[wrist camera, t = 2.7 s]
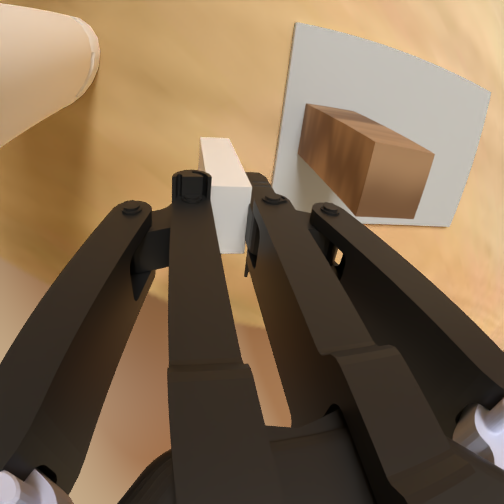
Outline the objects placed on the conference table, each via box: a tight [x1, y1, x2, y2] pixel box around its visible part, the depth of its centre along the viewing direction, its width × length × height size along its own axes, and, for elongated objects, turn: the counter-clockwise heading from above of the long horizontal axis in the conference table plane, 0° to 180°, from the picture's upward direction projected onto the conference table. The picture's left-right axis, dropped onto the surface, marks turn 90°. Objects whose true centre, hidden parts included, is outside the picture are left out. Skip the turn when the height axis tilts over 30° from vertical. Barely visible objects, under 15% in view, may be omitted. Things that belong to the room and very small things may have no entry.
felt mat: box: [271, 22, 491, 227], centre depth 28 cm, size 18×24×1 cm
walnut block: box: [297, 103, 435, 219], centre depth 21 cm, size 4×4×11 cm
